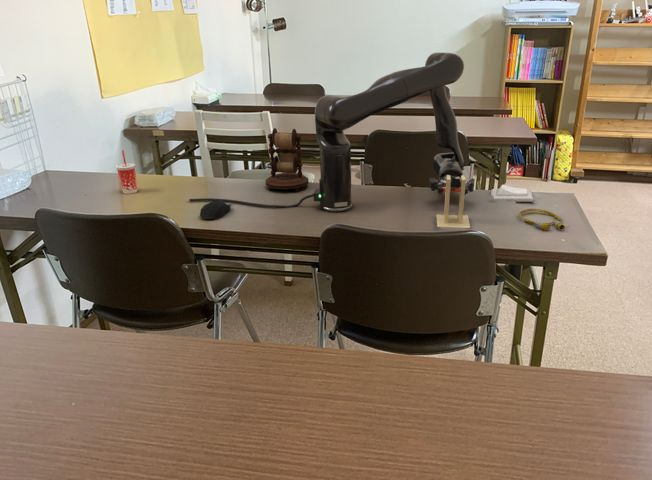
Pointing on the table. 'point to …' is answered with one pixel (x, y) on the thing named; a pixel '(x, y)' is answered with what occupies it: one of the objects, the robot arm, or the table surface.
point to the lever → (454, 186)
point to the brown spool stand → (285, 161)
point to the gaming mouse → (214, 210)
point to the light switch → (512, 194)
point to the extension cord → (541, 224)
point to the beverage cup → (127, 176)
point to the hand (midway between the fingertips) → (453, 191)
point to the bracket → (459, 219)
